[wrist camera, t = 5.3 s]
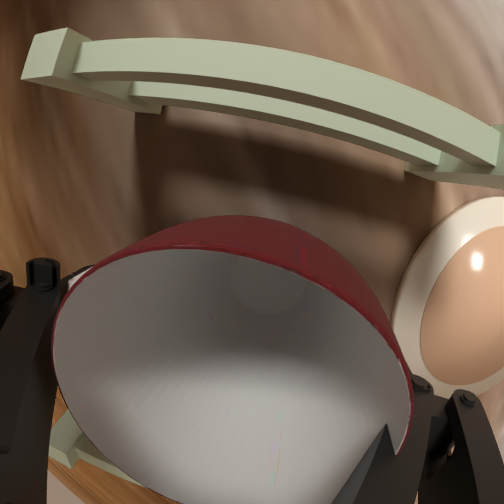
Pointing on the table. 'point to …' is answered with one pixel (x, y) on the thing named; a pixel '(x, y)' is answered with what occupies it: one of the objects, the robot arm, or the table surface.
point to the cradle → (263, 117)
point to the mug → (231, 363)
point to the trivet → (456, 301)
